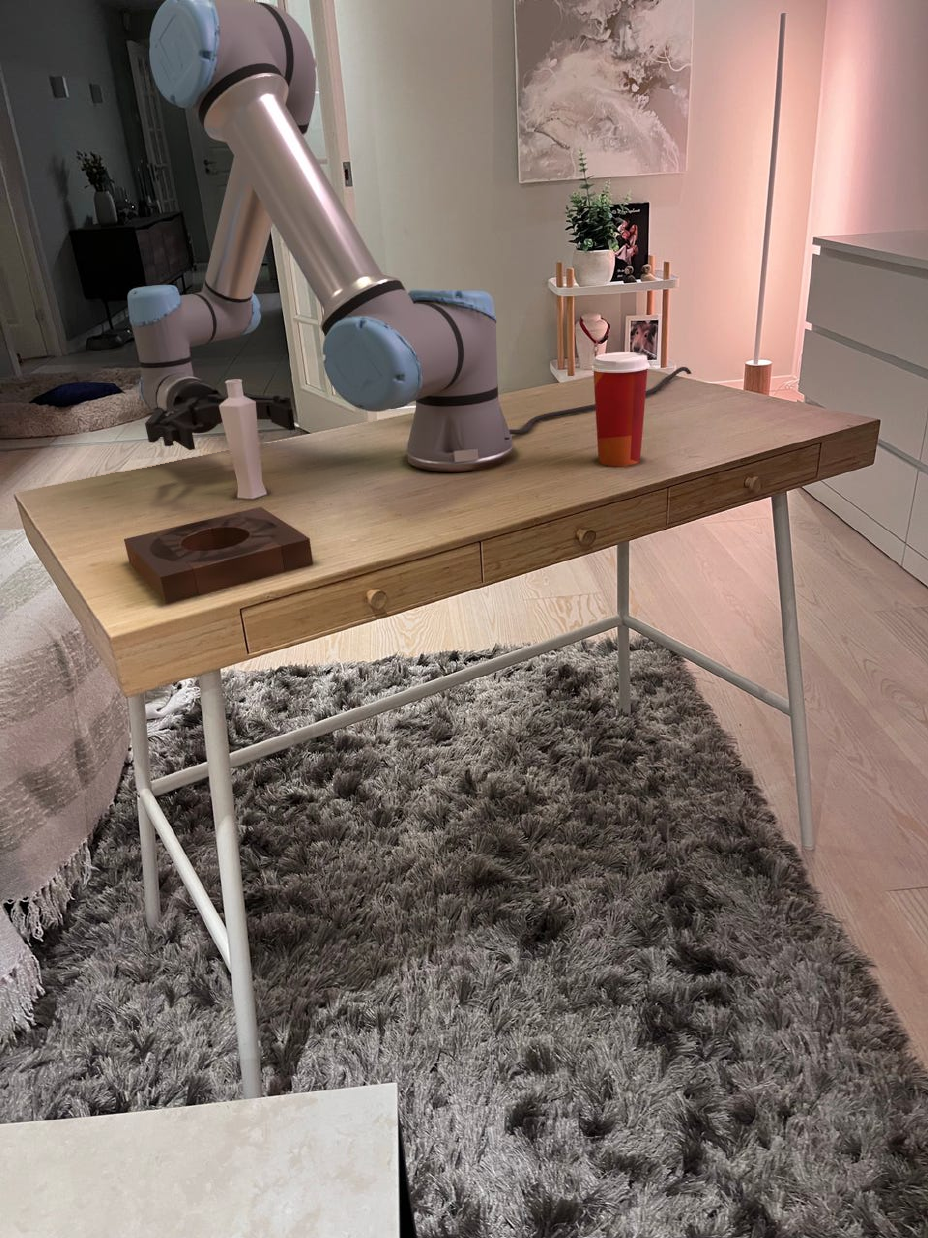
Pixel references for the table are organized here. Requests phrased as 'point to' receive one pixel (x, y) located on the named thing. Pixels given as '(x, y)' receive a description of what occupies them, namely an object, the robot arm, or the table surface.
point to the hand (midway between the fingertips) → (242, 429)
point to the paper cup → (620, 406)
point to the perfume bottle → (243, 440)
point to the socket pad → (217, 553)
